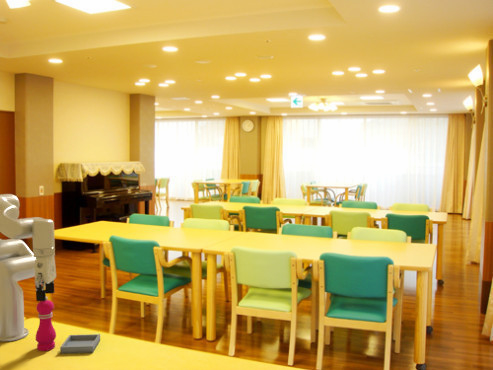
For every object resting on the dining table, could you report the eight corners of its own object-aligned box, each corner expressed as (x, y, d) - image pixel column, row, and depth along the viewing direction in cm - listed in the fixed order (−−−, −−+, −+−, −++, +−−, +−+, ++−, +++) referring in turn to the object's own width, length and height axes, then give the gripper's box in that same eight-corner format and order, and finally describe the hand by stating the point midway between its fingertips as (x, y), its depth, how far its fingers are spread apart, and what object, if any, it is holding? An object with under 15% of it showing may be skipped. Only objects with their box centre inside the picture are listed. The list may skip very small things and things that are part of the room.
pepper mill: (48, 342, 185) (47, 292, 184) (60, 346, 182) (59, 295, 180) (31, 349, 179) (30, 297, 178) (43, 353, 175) (42, 300, 174)
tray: (60, 353, 175) (60, 347, 175) (69, 341, 187) (69, 335, 187) (93, 352, 176) (92, 346, 176) (100, 340, 188) (100, 334, 188)
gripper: (46, 256, 170) (48, 303, 171) (61, 247, 187) (62, 290, 188) (24, 257, 169) (26, 304, 170) (41, 248, 186) (43, 290, 187)
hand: (45, 296), depth 179 cm, fingers open, 9 cm apart
